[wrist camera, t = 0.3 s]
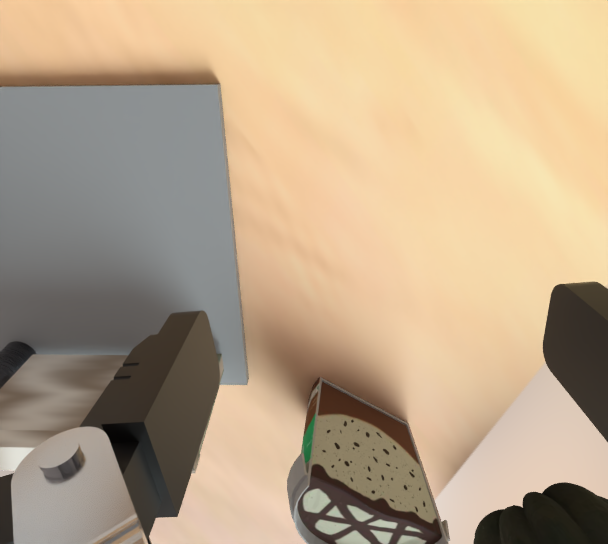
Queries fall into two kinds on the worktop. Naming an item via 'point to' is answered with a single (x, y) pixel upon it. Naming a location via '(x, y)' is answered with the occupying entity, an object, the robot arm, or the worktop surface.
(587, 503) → the squash
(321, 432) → the food container
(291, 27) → the worktop surface
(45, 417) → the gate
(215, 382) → the robot arm
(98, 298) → the plaque display stand
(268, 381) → the worktop surface
